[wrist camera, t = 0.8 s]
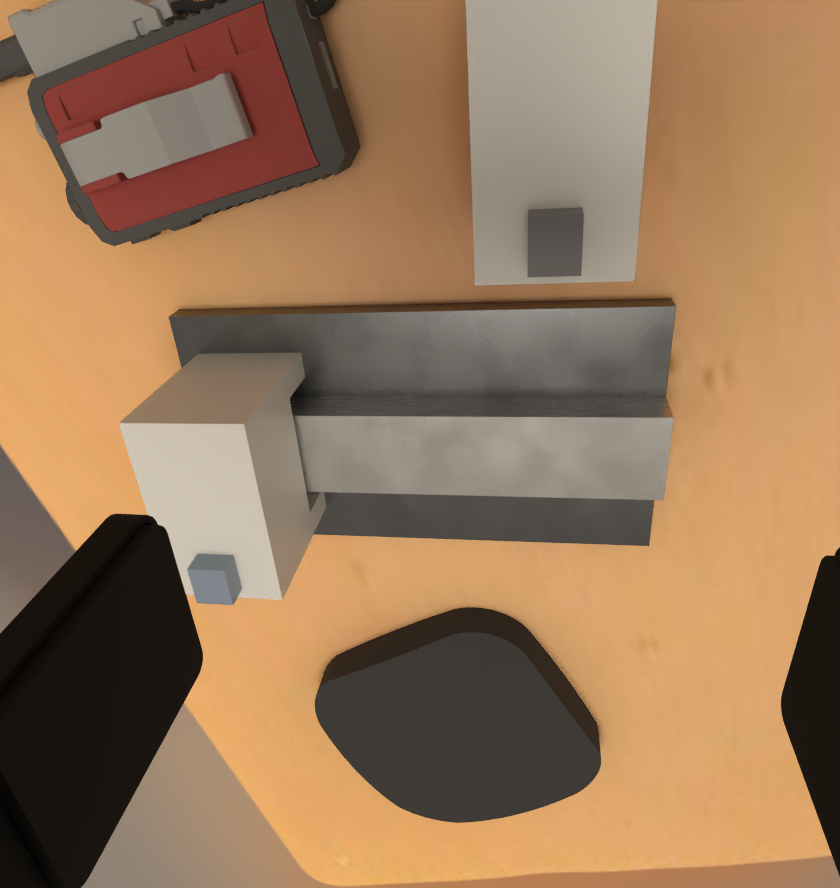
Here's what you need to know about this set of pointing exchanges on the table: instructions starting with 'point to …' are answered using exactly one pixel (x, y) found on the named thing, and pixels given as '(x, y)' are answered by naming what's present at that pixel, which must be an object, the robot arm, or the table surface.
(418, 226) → the table surface
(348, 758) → the media streaming box
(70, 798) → the robot arm
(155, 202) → the walkie-talkie
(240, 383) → the mounted module
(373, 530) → the rail plate
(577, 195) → the block
